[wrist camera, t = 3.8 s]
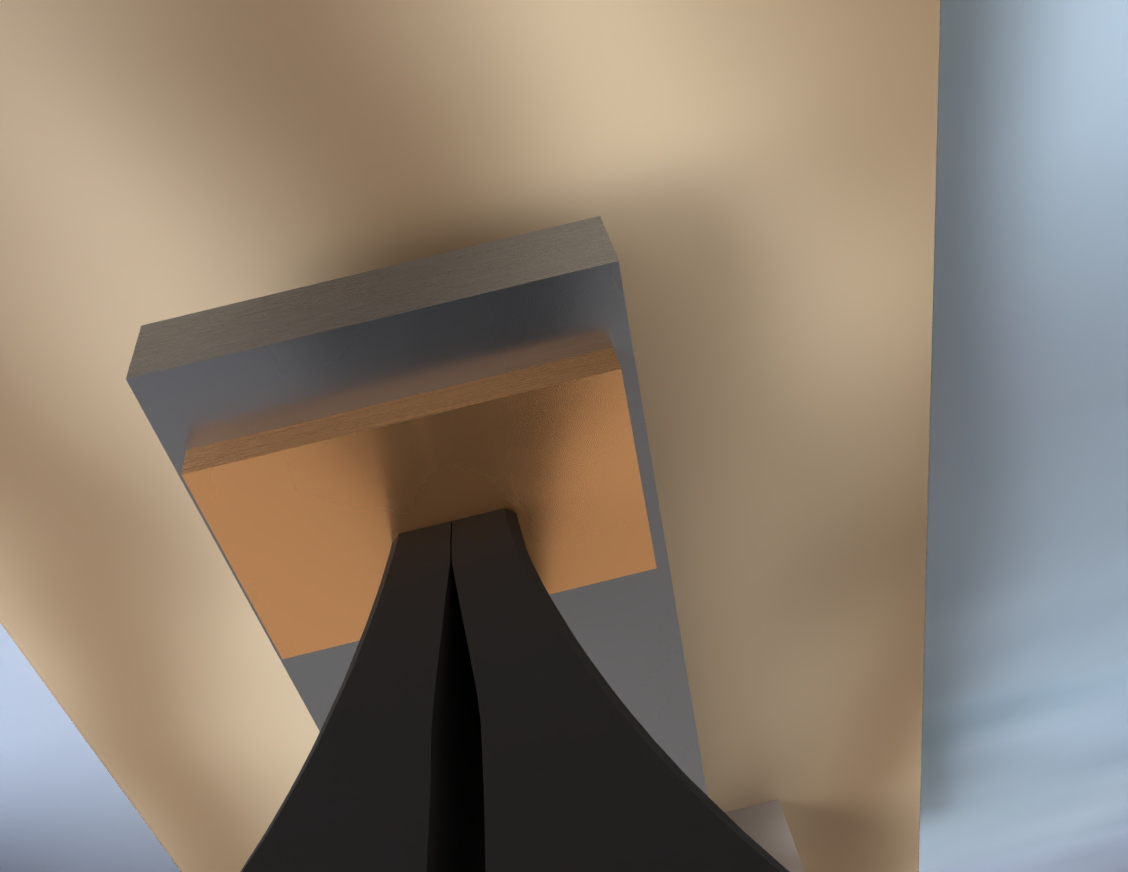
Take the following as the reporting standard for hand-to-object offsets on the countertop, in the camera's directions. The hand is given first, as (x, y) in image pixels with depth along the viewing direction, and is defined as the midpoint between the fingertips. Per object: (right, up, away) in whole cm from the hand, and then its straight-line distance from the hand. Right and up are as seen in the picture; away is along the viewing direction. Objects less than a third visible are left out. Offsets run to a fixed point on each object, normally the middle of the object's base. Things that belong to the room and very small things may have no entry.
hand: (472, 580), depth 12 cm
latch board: (0, 0, +6) cm, 6 cm away
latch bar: (0, -2, +4) cm, 5 cm away
